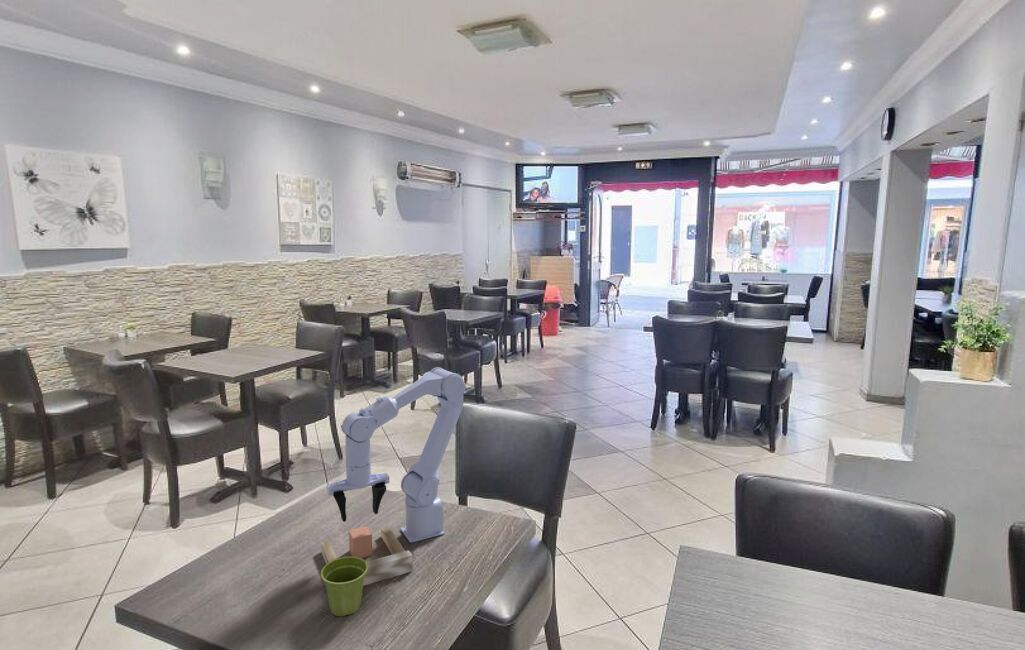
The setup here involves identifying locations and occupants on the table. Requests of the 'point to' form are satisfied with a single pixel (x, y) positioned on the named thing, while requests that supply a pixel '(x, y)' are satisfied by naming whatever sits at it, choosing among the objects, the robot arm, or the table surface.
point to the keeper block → (360, 542)
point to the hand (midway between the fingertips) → (359, 516)
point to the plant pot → (344, 584)
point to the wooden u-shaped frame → (380, 559)
